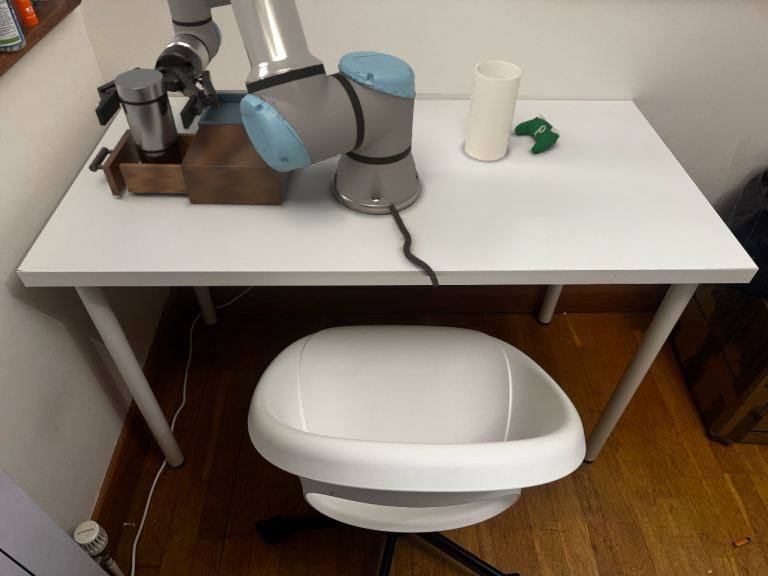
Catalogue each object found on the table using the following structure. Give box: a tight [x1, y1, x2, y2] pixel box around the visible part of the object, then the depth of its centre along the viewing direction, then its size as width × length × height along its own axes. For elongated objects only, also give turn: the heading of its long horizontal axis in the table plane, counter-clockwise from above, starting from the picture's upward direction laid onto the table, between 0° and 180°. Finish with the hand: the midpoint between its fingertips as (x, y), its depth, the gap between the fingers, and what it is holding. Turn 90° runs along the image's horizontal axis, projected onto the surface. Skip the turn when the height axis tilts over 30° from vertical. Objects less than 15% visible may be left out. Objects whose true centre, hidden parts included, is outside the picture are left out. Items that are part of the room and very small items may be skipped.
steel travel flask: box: [113, 68, 184, 165], centre depth 94 cm, size 7×7×17 cm
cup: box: [464, 60, 522, 162], centre depth 105 cm, size 8×8×16 cm
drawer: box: [88, 128, 196, 197], centre depth 99 cm, size 19×12×6 cm, turn 90°
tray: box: [197, 91, 248, 128], centre depth 117 cm, size 14×14×2 cm
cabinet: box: [180, 124, 290, 206], centre depth 99 cm, size 16×14×8 cm
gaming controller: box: [514, 113, 560, 154], centre depth 113 cm, size 9×4×6 cm
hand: (141, 119), depth 90 cm, fingers open, 13 cm apart
